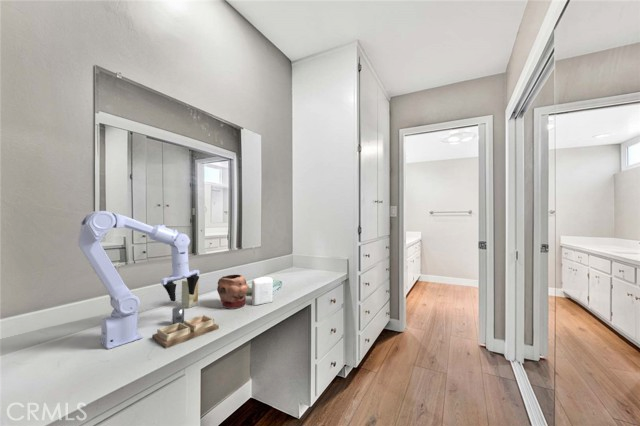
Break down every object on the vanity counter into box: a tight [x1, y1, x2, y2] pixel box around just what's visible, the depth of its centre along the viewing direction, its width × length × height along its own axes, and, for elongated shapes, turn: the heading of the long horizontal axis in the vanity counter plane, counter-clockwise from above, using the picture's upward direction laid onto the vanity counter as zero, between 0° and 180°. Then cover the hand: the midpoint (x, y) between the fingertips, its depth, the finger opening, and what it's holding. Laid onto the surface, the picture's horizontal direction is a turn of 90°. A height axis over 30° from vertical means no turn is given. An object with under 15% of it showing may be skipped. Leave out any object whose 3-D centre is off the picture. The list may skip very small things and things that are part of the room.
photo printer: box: [251, 276, 274, 306], centre depth 125 cm, size 10×4×12 cm, turn 126°
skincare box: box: [180, 279, 199, 309], centre depth 121 cm, size 6×4×12 cm
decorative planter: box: [216, 274, 249, 309], centre depth 121 cm, size 20×12×14 cm, turn 62°
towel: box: [245, 279, 283, 297], centre depth 145 cm, size 18×21×5 cm
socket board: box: [151, 314, 220, 349], centre depth 92 cm, size 18×11×3 cm, turn 143°
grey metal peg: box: [171, 306, 185, 325], centre depth 100 cm, size 4×4×6 cm
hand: (182, 297), depth 101 cm, fingers open, 7 cm apart
